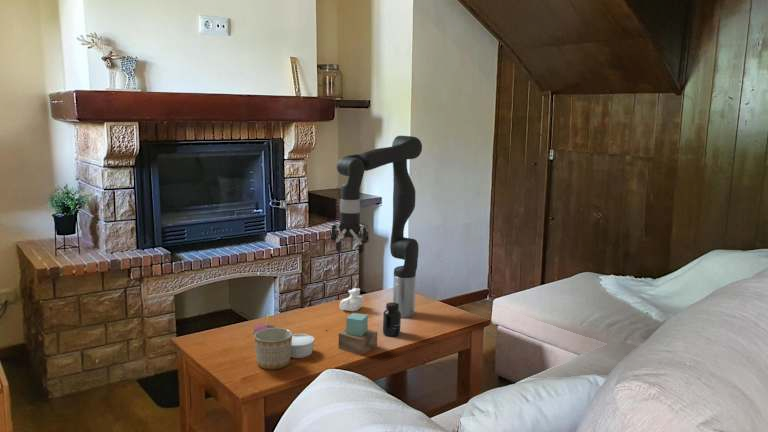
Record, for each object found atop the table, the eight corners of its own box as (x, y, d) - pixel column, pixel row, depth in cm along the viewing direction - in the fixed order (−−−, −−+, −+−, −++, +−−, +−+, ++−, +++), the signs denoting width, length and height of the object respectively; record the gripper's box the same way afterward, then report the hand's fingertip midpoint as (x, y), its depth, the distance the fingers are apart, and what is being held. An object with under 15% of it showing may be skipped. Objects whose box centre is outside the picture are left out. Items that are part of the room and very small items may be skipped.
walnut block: (355, 340, 228) (355, 325, 227) (377, 347, 222) (377, 331, 221) (338, 348, 220) (338, 333, 219) (360, 355, 214) (360, 339, 213)
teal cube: (352, 328, 224) (352, 312, 223) (367, 330, 222) (367, 315, 221) (346, 333, 218) (346, 318, 217) (361, 336, 216) (361, 320, 215)
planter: (248, 361, 207) (248, 332, 205) (282, 353, 214) (282, 325, 212) (264, 374, 197) (263, 344, 195) (298, 365, 204) (298, 336, 202)
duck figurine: (341, 317, 258) (350, 302, 251) (333, 303, 262) (342, 287, 255) (364, 312, 265) (373, 297, 258) (356, 298, 269) (365, 283, 262)
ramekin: (313, 346, 221) (313, 332, 220) (316, 358, 210) (316, 344, 209) (282, 348, 219) (281, 334, 218) (283, 360, 208) (283, 346, 207)
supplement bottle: (398, 337, 231) (399, 307, 229) (381, 336, 232) (381, 306, 230) (401, 331, 238) (402, 302, 235) (384, 329, 239) (385, 300, 237)
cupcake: (280, 340, 226) (280, 309, 224) (268, 348, 218) (268, 316, 216) (260, 336, 229) (259, 306, 226) (248, 345, 221) (247, 313, 218)
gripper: (371, 210, 228) (370, 252, 231) (336, 207, 232) (336, 248, 235) (364, 213, 221) (363, 256, 224) (328, 210, 225) (328, 253, 228)
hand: (349, 252), depth 229 cm, fingers open, 8 cm apart
